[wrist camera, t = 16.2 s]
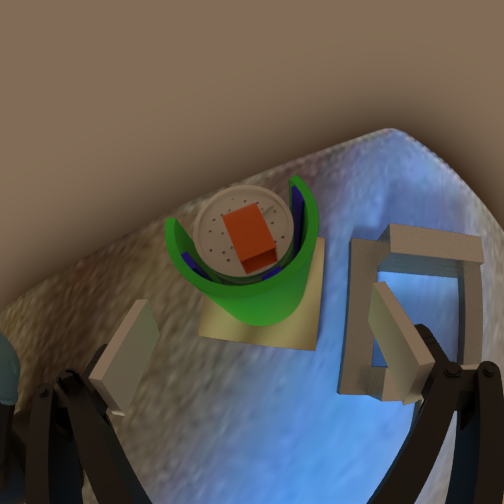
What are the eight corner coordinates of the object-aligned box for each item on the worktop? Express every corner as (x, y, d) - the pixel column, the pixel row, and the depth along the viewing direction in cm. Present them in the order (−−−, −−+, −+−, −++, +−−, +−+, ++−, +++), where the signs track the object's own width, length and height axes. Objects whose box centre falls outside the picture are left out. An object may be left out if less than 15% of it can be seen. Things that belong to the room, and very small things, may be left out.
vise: (330, 427, 25) (340, 443, 19) (348, 243, 31) (360, 219, 26) (466, 417, 22) (494, 423, 16) (472, 257, 29) (497, 239, 23)
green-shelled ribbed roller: (279, 233, 31) (269, 104, 14) (322, 293, 28) (371, 207, 12) (207, 278, 30) (122, 186, 14) (246, 343, 28) (187, 325, 11)
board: (201, 336, 30) (197, 334, 28) (220, 233, 34) (217, 228, 32) (313, 350, 28) (315, 350, 26) (323, 243, 32) (324, 237, 30)
